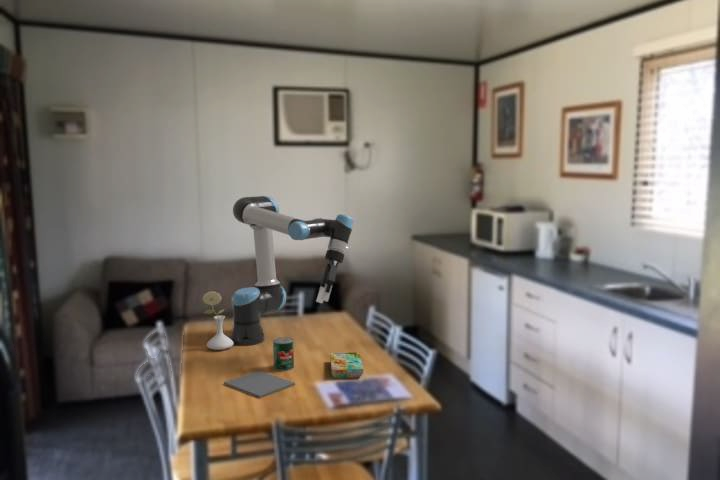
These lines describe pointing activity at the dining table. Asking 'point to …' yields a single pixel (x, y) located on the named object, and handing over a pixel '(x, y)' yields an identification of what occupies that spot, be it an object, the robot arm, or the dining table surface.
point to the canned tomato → (283, 354)
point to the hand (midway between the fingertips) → (321, 301)
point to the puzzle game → (346, 365)
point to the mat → (259, 384)
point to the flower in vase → (219, 339)
